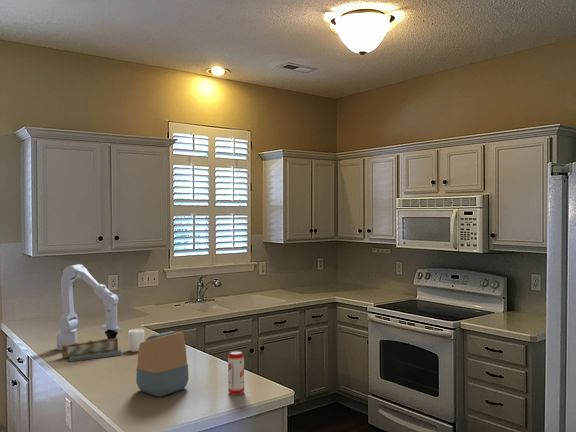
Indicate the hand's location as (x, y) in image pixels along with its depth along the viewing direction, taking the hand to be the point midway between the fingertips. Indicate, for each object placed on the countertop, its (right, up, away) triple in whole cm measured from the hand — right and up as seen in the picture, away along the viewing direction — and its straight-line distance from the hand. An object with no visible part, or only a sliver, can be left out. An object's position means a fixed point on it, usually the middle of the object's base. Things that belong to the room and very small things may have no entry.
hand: (111, 344), depth 270 cm
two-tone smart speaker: (+41, -4, -60) cm, 72 cm away
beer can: (+71, -4, -64) cm, 95 cm away
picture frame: (-8, -3, -8) cm, 12 cm away
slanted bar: (-3, -3, -13) cm, 14 cm away
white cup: (+13, -3, 0) cm, 13 cm away
